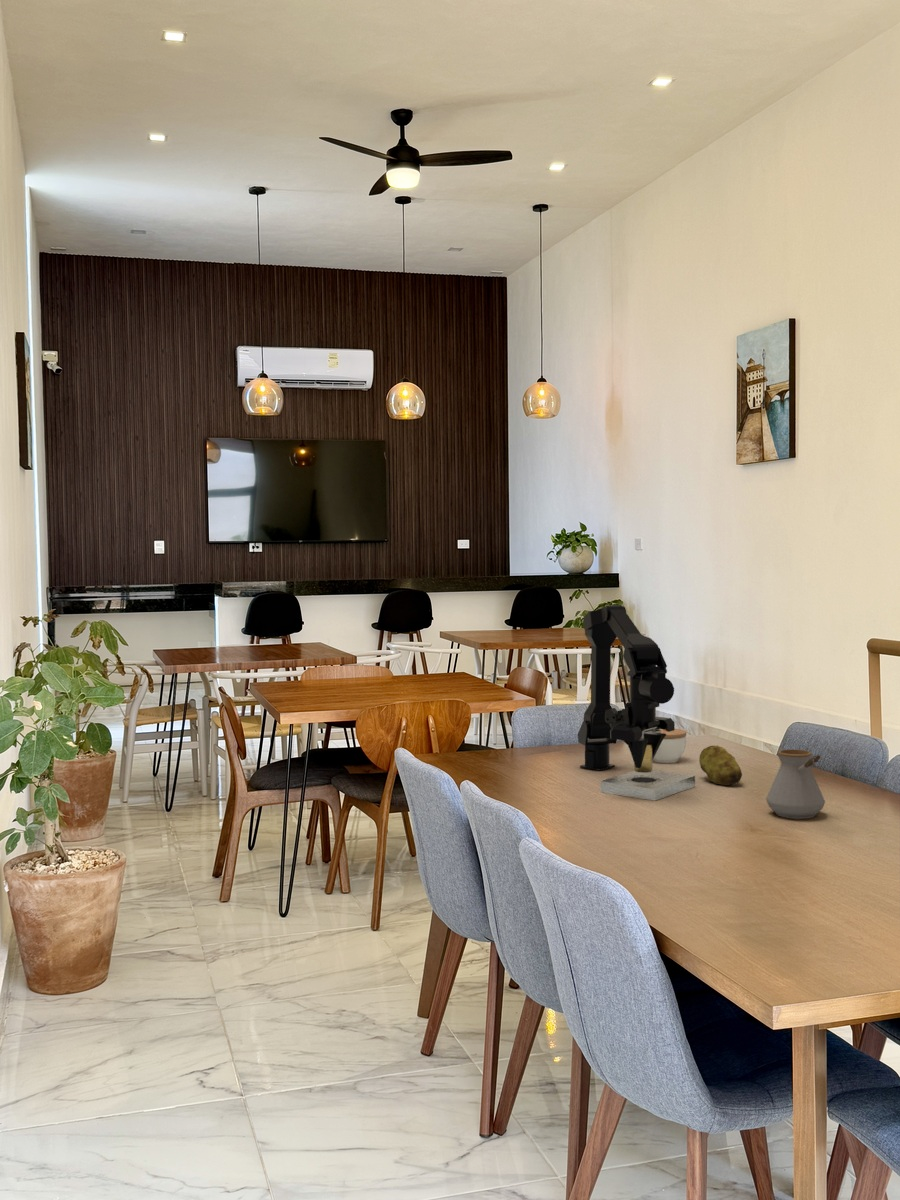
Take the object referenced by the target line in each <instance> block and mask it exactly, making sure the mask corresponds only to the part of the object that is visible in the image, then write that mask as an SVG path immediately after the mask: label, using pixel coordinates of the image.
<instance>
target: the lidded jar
mask: <svg viewBox="0 0 900 1200" xmlns="http://www.w3.org/2000/svg"><path fill="white" fill-rule="evenodd" d="M660 730H661V733H664V734H666V736H665V737H664V739H663V741H662V742H661V744H660V746H659V748H658V750H657V752H656V754H655V756H654V759H653V761H652V762H654V761H655V762H654V763H660V764H674V763H678V760H680V759H681V757H682V756H683V755H684V753H685V751H686V750H685V749H686V744H687V730H684V729H680V728H675V730H674V731H670V732H667V731H666V729H660Z"/></svg>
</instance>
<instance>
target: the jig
mask: <svg viewBox="0 0 900 1200" xmlns="http://www.w3.org/2000/svg"><path fill="white" fill-rule="evenodd" d="M599 785H600V787H599V788H600V789H599V790H600V793H603V794H609V795H617V796H622V797H623V796H625V797H628V798H636V799H640V800H641V799H643V800H648V801H657V800H660V799H664V798H667V797H670V796H672V795H675V794H678V793H681V792H683V791H686V790H689V789H692V788H695V787H696V775H692V774H685V773H677V772H670V771H662V770H655V769H652V772H647V773H642V772H636V771H634V770H633V771H629V772H627V773H623V774H619V775H617V776H613V777H609V778H607V779H603V780H600V783H599Z"/></svg>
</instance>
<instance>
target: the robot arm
mask: <svg viewBox="0 0 900 1200" xmlns="http://www.w3.org/2000/svg"><path fill="white" fill-rule="evenodd" d="M582 619H583V620H582V625H583V626H582V627H583V628H584V635H585V637H586V639H587V641H588V642H589V643H590V645H591V646H590V648H591V654H590V656H591V657H590V658H591V659H590V661H591V662H590V663H591V664H590V703H589V704H588V707H586V709H585V711H584V714H583V721H582V723H581V725H580V728H579V730H578V733H577V741H578V743H579V744H581V745H583V746H584V764H581V765H580V768H581V769H589V770H595V771H605V770H608V769H611V768H614V767H615V764H612V763H610V744H617V741H618V740H619V741H622V742H624V743H625V744H626V745H627V747H628V748H629V752H630V754H631V758H632V760H633V763H634V764H635V767H636V768H641V765H642V762H643V758H644V754H645V750H646V747H647V743H650V744H652V762H654V761H653V759H654V756H655V754H656V752H657V750H658V748H659V746H660V744H661V742H662V741H663V739H664V737H665V736H666V734H664V733H661V730H660V729H666V731H667V732H670V731H674V730H675V729H676V727H675V725H676V724H675V721H674V720H673V719H672V718H671V717H663V716H657V714H656V713H657V708H659V707H660V704H662V705H663V704H665V703H668V702H670V701H671V700H672V698H673V697H674V695H675V687H674V684H673V683H672V681H671V680H670V679H669V678H667V677H666V674H667V673H668V670H667V667H668V664H667V663H666V661H665V658H664V656H663V654H662V651H661V649H660V647H659V645H658V644H657V642H655V641H654V639H652V638H651V637H648V636H646V635H643V634H642V633H641V632H640V630H639V628H638V627H637V626H636V625H635V623H634V622H633V620H632V619H631V618H630V616H629V614H628V613H627V609H626V607H625V606H624V605H622V604H620V605H619V604H617V605H616V604H613V605H606V606H602V607H601V608H598V609H596V610H589V611H588V612H587V614H585V615H584V616H583V618H582ZM617 639H618V641H619V642H620V644H621V645H622V647H623V649H624V650H623V655H622V656H623V660H624V663H625V664H626V666H627V668H628V672H627V676H628V677H629V701H626V702H625V705H624V708H623V709H621V710H617V709H616V707H612V706H611V657H612V656H611V655H612V652H611V651H612V650H611V649H612V645H613V644H614V643H615V641H616V640H617Z"/></svg>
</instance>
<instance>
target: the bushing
mask: <svg viewBox="0 0 900 1200" xmlns="http://www.w3.org/2000/svg"><path fill="white" fill-rule="evenodd" d="M633 766H634V767H633V768H634V769H633V771H636V772H642V773H647V772H652V770H653V761H652V744H650V743H647V747H646V750H645V754H644V758H643V762H642V765H641V768H636V767H635V764H634V765H633Z"/></svg>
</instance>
